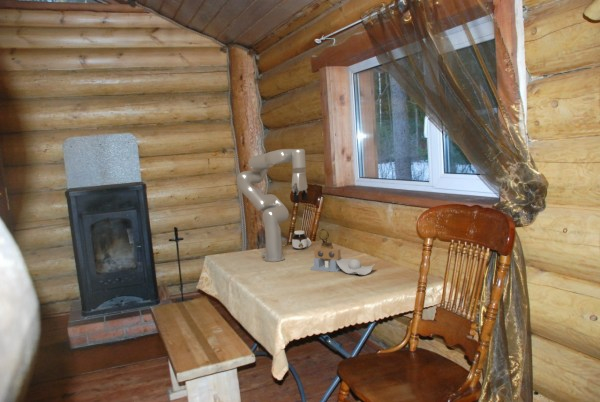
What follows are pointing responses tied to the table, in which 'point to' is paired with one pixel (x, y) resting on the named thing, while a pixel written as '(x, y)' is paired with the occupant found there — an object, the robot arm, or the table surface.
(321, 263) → the display stand
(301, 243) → the spread jar
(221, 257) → the table surface
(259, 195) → the robot arm
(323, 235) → the wooden mug
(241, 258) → the table surface
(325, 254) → the tan wooden plank
